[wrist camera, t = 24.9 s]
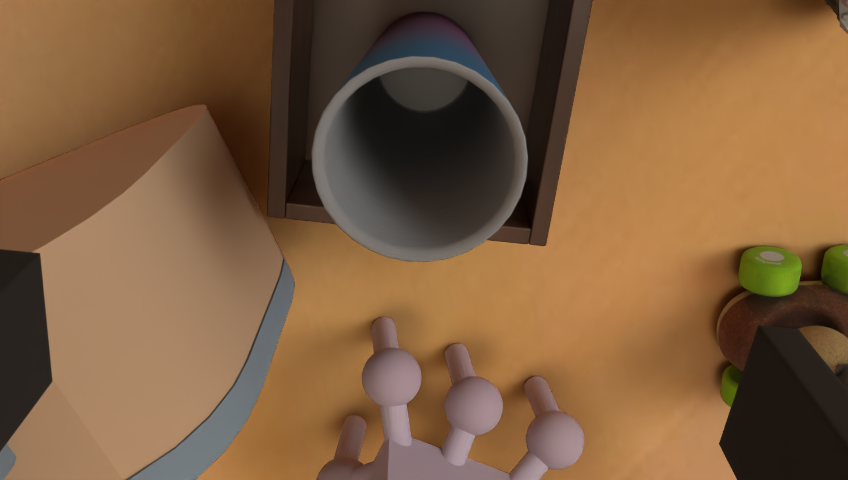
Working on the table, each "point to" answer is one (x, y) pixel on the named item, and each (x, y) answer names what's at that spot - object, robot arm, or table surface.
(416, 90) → the cup
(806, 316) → the toy car
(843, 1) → the camera
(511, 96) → the walnut box
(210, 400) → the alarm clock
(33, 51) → the table surface
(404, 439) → the pink legged piece
